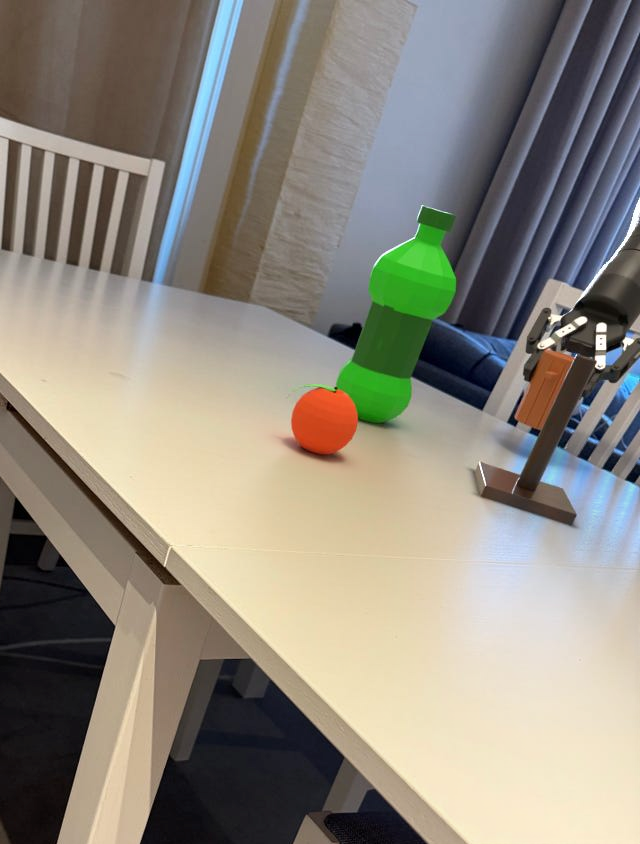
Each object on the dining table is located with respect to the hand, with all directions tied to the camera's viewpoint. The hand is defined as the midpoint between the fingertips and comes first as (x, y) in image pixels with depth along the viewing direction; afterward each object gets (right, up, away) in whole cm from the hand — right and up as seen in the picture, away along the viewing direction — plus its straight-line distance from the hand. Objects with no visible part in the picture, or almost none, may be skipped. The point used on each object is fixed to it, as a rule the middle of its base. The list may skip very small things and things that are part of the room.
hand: (552, 386), depth 118 cm
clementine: (-34, -12, -20) cm, 41 cm away
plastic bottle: (-24, -4, +1) cm, 24 cm away
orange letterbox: (-1, -4, +3) cm, 5 cm away
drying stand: (-10, -17, -15) cm, 25 cm away
